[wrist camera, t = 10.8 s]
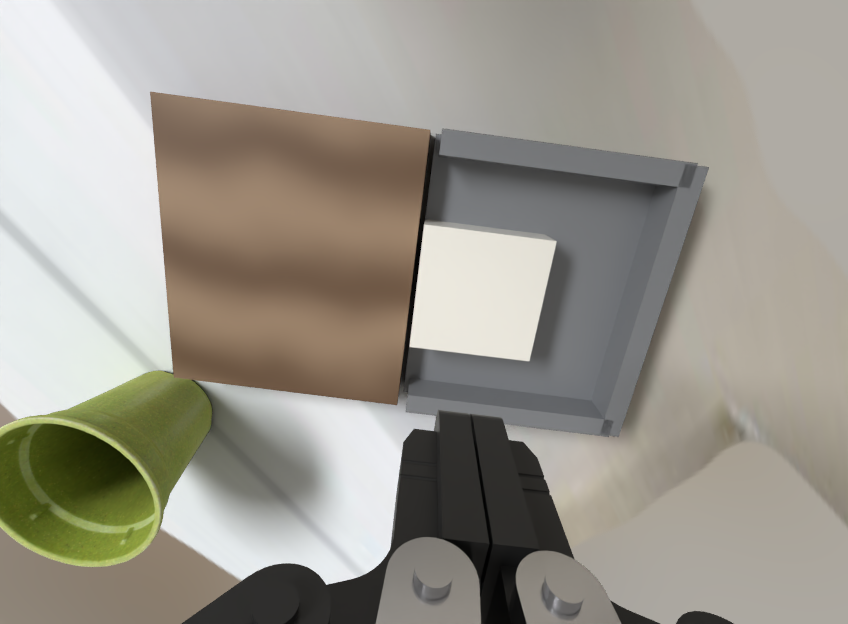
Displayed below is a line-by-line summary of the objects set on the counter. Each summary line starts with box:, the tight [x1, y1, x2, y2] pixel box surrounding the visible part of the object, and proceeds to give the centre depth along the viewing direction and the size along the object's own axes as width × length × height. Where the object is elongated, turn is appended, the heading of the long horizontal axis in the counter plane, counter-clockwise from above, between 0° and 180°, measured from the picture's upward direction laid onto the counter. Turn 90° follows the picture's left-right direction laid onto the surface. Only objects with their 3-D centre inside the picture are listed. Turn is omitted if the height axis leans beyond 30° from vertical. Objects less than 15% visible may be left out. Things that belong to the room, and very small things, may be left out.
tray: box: [404, 129, 709, 437], centre depth 24 cm, size 16×14×3 cm
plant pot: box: [0, 371, 212, 567], centre depth 25 cm, size 9×9×9 cm
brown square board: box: [150, 92, 431, 405], centre depth 24 cm, size 16×14×2 cm
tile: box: [409, 219, 557, 361], centre depth 24 cm, size 7×7×2 cm
